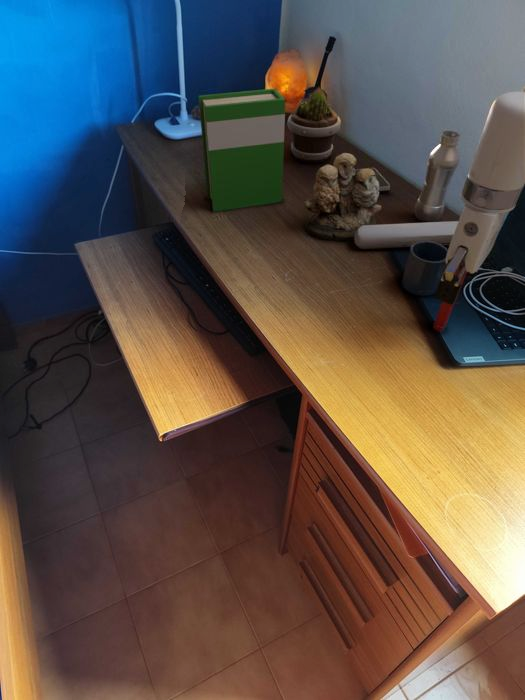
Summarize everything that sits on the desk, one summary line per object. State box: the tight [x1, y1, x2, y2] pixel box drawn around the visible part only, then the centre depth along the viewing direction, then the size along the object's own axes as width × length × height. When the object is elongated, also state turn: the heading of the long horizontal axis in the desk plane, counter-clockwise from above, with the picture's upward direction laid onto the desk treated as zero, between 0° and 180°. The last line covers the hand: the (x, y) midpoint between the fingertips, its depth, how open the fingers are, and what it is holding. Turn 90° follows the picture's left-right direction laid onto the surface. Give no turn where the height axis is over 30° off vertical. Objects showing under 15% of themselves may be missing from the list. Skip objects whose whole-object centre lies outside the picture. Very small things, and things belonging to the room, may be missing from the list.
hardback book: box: [198, 88, 286, 212], centre depth 110 cm, size 18×7×24 cm, turn 106°
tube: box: [353, 220, 459, 250], centre depth 103 cm, size 5×5×25 cm
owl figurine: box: [303, 152, 382, 242], centre depth 103 cm, size 18×12×17 cm, turn 101°
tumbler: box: [401, 241, 448, 297], centre depth 92 cm, size 7×7×8 cm
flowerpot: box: [286, 85, 342, 164], centre depth 129 cm, size 14×15×20 cm
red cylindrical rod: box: [432, 262, 467, 332], centre depth 81 cm, size 2×2×14 cm
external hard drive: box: [354, 167, 391, 194], centre depth 123 cm, size 7×11×2 cm, turn 13°
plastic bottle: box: [413, 130, 461, 223], centre depth 105 cm, size 6×7×20 cm
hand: (454, 286), depth 79 cm, fingers open, 9 cm apart
